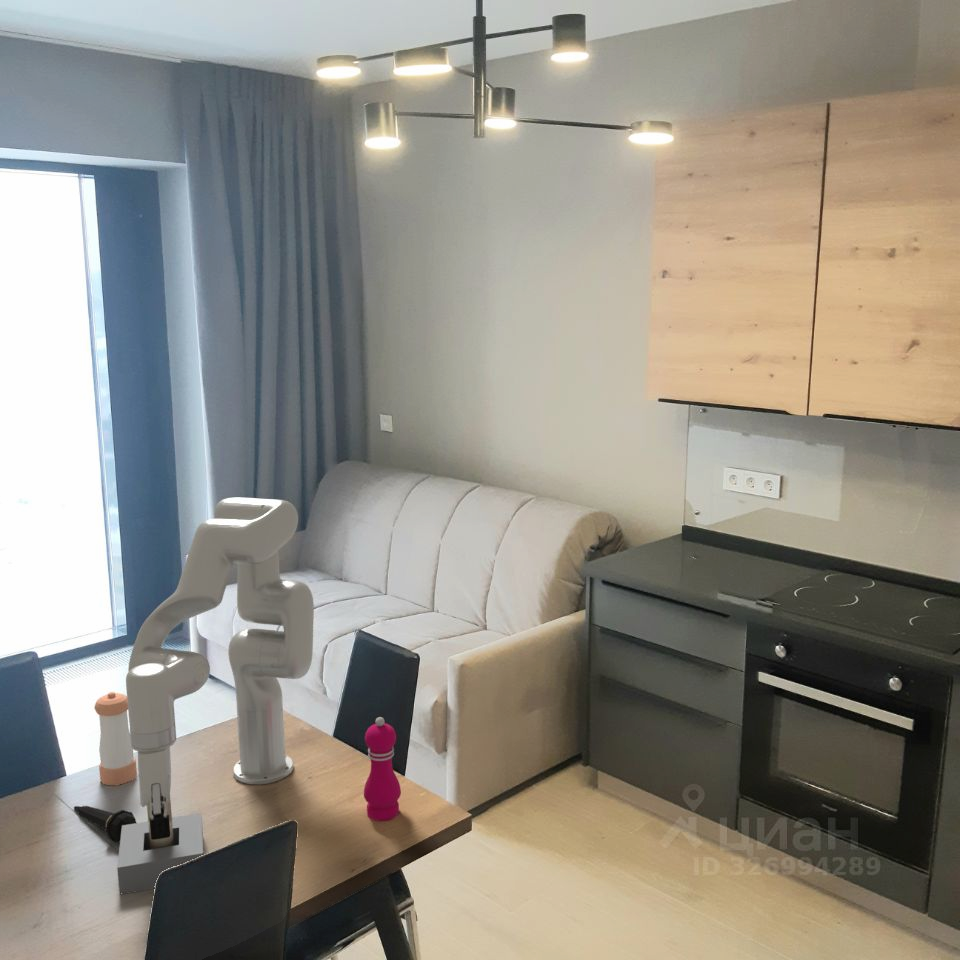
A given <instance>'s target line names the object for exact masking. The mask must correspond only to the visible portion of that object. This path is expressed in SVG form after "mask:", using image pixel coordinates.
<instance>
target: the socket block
mask: <svg viewBox="0 0 960 960" xmlns="http://www.w3.org/2000/svg"><path fill="white" fill-rule="evenodd" d="M172 825H173V838H174V846H170V847H164V848H158V849H152V850H151V849H150V837H149V825H148V820H147V821H142V822H136V823H135V824H128V825H122V830H121V839H120V841H119V849H118V858H117V880H118V891H119V892H118V893H119V895H122V894H121V893H125V894H129V893H130V892H131V893H135V891H136V892H140V891H146V890H153V889H155V888H154V886H155V883H156V880H157V878H158V876H159V874H160V873H161V872H162V871H164V870H166V869H168V868H171V867H173V866H177V865H180V864H183V863H185V862H187V861H190V860H192V859H195V858H197V857H199V856H201V855H204V856H205V849H204V832H203V831H204V829H203V817H202V812H199V813H194V814H193V813H192V814H186V815H180V816H172ZM152 888H153V889H152ZM128 892H129V893H128Z"/></svg>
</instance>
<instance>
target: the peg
mask: <svg viewBox="0 0 960 960" xmlns="http://www.w3.org/2000/svg"><path fill="white" fill-rule="evenodd" d="M161 799H164V797H161ZM152 801H153V799H152ZM171 802H172V801H171V799H170V800H169V801H168V802H167V803H166V805H167V815H169V824H170V837H167V838H161V839H155V840H152V839H151V831H150V805H149V803H148V805H147V806H146V811H147V813H146V814H147V821H148V825H149V837H150V849H151V850H152V849H158V848H164V847H170V846H174V838H173V825H172V817H173V815H172V814H173V813H172V806H171V805H172V803H171ZM161 808H163V804H162V805H161Z"/></svg>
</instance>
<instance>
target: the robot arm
mask: <svg viewBox="0 0 960 960" xmlns="http://www.w3.org/2000/svg"><path fill="white" fill-rule="evenodd" d="M298 524H299V514H298V511H297V509H296V506H295V505H294V504H292V503H291V502H290V501H287V500H284V499H273V498H255V497H243V496H241V497H237V496H236V497H227V498H223V499H221V500H220V501H218V502H217V504H216V506H215V508H214V518H210V519H206V520H204V521H202V522H201V523H200V524H198V526H197V528H196V530H195V532H194V535H193V539H192V541H191V545H190V547H189V550H188V554H187V556H186V560H185V562H184V566H183V569H182V572H181V575H180V578H179V581H178V585H177V588H176V589H175V591H174V592H173V593H172V594H171V595H169V596H168V598H166V599H165V600H163V602H161V603H160V604H159V605H158V606H157V607H156V608H155V609H154V610H153V611H152V612H151V614H149V616H147V618H146V619H145V620H144V622H143V623H142V625H141V627H140V628H139V630H138V633H137V636H136V639H135V641H134V644H133V647H132V650H131V653H130V656H129V662H128V672H127V673H126V676H125V689H126V696H127V702H128V710H127V714H128V725H129V732H130V737H131V747H132V748H133V751H136V752H137V768H138V769H137V770H138V772H137V773H138V783H139V798H140V799H139V801H140V803H139V804H140V806H141V807H143V808H144V807H147V805H148V803H149V805H150V831H151V839H152V840H155V839H161V838H167V837H170V824H169V815H167V805H166V803H167V802H168V801H169V800H171V786H172V761H171V760H172V759H171V747H172V746H173V745H174V744H175V743H176V742H177V730H176V729H177V727H176V716H175V703H174V702H175V701H176V700H178V699H181V698H184V697H186V696H189V695H191V694H192V695H193V694H194V693H196V692H197V691H199V690H200V689H202V687H203V686H204V685H205V684H206V683H207V682H208V679H209V676H210V672H211V667H210V662H209V660H208V659H207V657H205V655H203V654H201V653H199V652H196V651H191V650H180V649H174V648H173V649H172V648H164V647H163V644H164V643H165V640H166V639H167V637H168V636H169V635H170V633H171V632H172V631H173V630H174V629H175V628H176V627H177V626H179V625H180V624H181V623H184V622H185V621H187V620H189V619H191V618H193V617H196V616H198V615H201V614H203V613H206V612H209V611H211V610H214V609H216V608H217V607H218V606H220V604H222V602H223V598H224V595H225V592H226V588H227V585H228V582H229V578H230V575H231V572H232V569H233V565H234V564H237V584H236V585H237V590H236V591H237V593H236V594H237V595H236V597H237V598H236V600H237V601H236V603H237V605H236V606H237V612H238V615H239V617H240V618H241V620H243V621H245V622H248V623H253V624H260V625H269V626H280V627H282V628H283V631H281V630H273V629H265V628H246V629H242V630H240V631H238V632H236V633H235V634H233V636H232V638H231V640H230V642H229V644H228V649H227V650H228V652H227V653H228V660H229V665H230V669H231V673H232V675H233V681H234V686H235V687H234V688H235V697H236V698H235V699H236V717H237V731H238V745H239V746H238V747H239V748H238V750H239V760H238V761H237V762H236V763H235V765H234V766H233V769H232V771H233V772H232V773H233V777H234V778H235V779H236V780H237V781H239V782H240V783H243V784H248V785H266V784H271V783H275V782H278V781H280V780H283V779H284V778H286V777H288V776H289V775H290V774H291V773H292V771H293V770H294V761H293V759H292V758H291V757H290V756H289V755H286V744H285V743H286V742H285V721H284V707H283V706H284V705H283V704H284V701H283V690H282V687H281V684H280V682H279V679H288V680H298V679H301V678H302V679H303V677H305V676H306V675H307V674H308V672H309V671H310V669H311V666H312V661H313V652H314V651H313V650H314V649H313V647H314V619H315V618H314V616H315V615H314V613H315V611H314V609H315V606H314V597H313V593H312V591H311V588H310V587H309V586H308V585H307V584H306V583H305V582H302V581H300V580H299V581H298V580H295V579H294V580H293V579H282V578H281V576H280V556H279V550H280V549H281V548H283V546H285V545H286V544H287V543H288V542H289V541H290V540H291V539H292V538H293V536H294V534H295V533H296V531H297V528H298ZM161 797H164V799H161ZM152 799H153V801H152ZM162 804H163V808H161V805H162Z"/></svg>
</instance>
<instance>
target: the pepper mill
mask: <svg viewBox="0 0 960 960" xmlns="http://www.w3.org/2000/svg"><path fill="white" fill-rule="evenodd" d="M396 741H397V734H396V731H395V729H394V728H393V726H391V725H390V724H388V723H385V719H384V717H383V716H382V717H381V716H379V717H376V719H375V723H374V724H372V725H370V726H369V727H368V728H367V730H366V731H365V734H364V742H365V744H366V746H367V748H368V749H367V753H368V754H367V756H368V758H369V759H370V772H369V775H368V777H367V779H366V782H365V784H364V789H363V798H364V799H365V801H366V802H367V804H366V815H367V817H368V818H369V819H371V820H373V821H377V822H378V821H380V822H384V821H389V820H393V819H394V818H396V817H397V816H398V814H399V812H400V811H399V810H400V805H399V799H400V797H401V794H402V793H401V792H402V790H401V785H400V782H399V779H398V778H397V775H396V773H395V771H394V767H393V763H392V762H393V760H392V759H393V757H394V755H395V752H394V751H395V747H394V745H395V743H396Z"/></svg>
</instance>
